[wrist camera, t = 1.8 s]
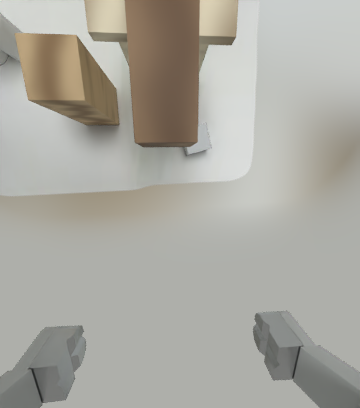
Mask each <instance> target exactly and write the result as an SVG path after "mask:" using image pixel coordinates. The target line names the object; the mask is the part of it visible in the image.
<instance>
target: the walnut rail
mask: <svg viewBox="0 0 360 408" xmlns="http://www.w3.org/2000/svg"><path fill="white" fill-rule="evenodd" d="M125 13H126V27H127V41H128V55H129V69H130V83H131V96H132V110H133V124H134V138H135V143H137V144H139V145H140V146H142V147H191V146H192V145H194V144H196V143H197V142H198V90H199V19H200V0H125Z"/></svg>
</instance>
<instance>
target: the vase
mask: <svg viewBox="0 0 360 408" xmlns="http://www.w3.org/2000/svg"><path fill="white" fill-rule="evenodd" d="M15 33H22V32H21V31H20V30H19V29H18V28H17V27H16V26H14V25H13V24H12V23H11V22H10V21H9V20H8V19H6V18H5V17H4V16H3V15H2V14H1V13H0V65H2V64H4V63H5V62H6V60H7V58H8V55H10V56H11V57H13V58H14V59H16V60H17V61H20V57H19V53H18V48H17V43H16V38H15Z"/></svg>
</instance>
